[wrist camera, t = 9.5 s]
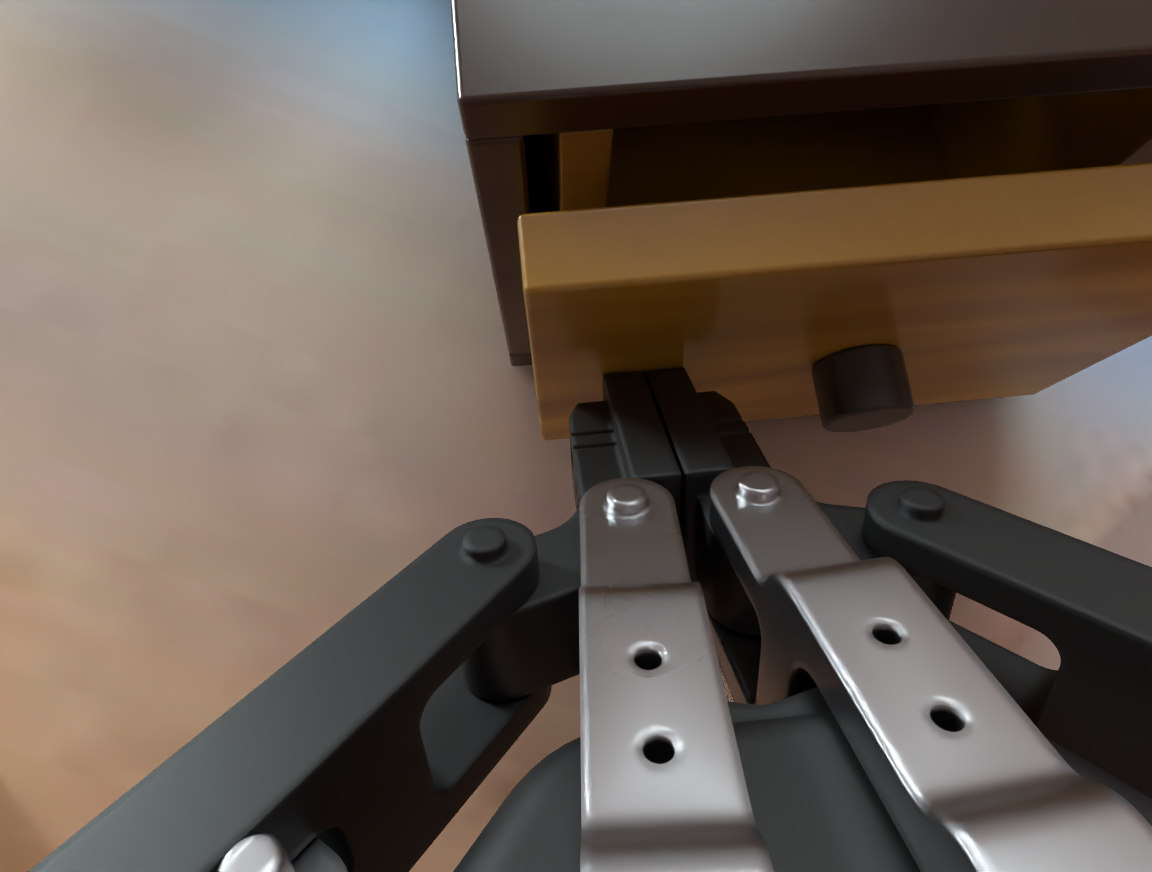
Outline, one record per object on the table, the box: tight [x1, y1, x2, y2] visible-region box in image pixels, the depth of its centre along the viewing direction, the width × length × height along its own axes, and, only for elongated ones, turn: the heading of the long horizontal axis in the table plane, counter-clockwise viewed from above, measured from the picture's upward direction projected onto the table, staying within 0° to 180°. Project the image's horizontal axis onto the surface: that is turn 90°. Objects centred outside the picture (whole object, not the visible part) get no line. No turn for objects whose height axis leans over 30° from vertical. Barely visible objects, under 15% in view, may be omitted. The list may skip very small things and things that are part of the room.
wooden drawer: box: [517, 87, 1152, 440], centre depth 15 cm, size 15×12×8 cm
